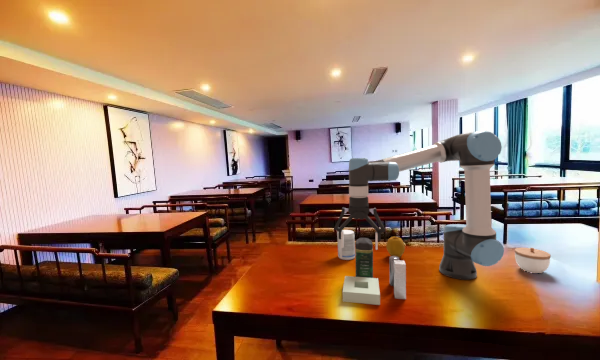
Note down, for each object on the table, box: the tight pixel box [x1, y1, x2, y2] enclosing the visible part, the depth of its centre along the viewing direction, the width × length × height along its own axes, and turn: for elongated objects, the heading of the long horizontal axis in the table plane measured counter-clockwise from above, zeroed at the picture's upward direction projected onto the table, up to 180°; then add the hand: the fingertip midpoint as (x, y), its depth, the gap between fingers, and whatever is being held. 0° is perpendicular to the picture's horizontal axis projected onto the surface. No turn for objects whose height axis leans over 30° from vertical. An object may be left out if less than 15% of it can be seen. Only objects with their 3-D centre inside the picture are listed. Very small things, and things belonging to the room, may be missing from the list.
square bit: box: [393, 259, 407, 300], centre depth 104 cm, size 4×4×14 cm
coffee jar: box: [354, 237, 374, 278], centre depth 120 cm, size 10×8×19 cm
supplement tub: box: [336, 229, 356, 261], centre depth 147 cm, size 10×10×15 cm
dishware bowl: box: [514, 247, 551, 274], centre depth 123 cm, size 13×13×11 cm
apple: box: [386, 236, 406, 259], centre depth 145 cm, size 10×10×12 cm
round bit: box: [388, 255, 400, 287], centre depth 114 cm, size 4×4×12 cm
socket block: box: [342, 275, 381, 306], centre depth 107 cm, size 14×14×4 cm
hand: (359, 247), depth 107 cm, fingers open, 13 cm apart
